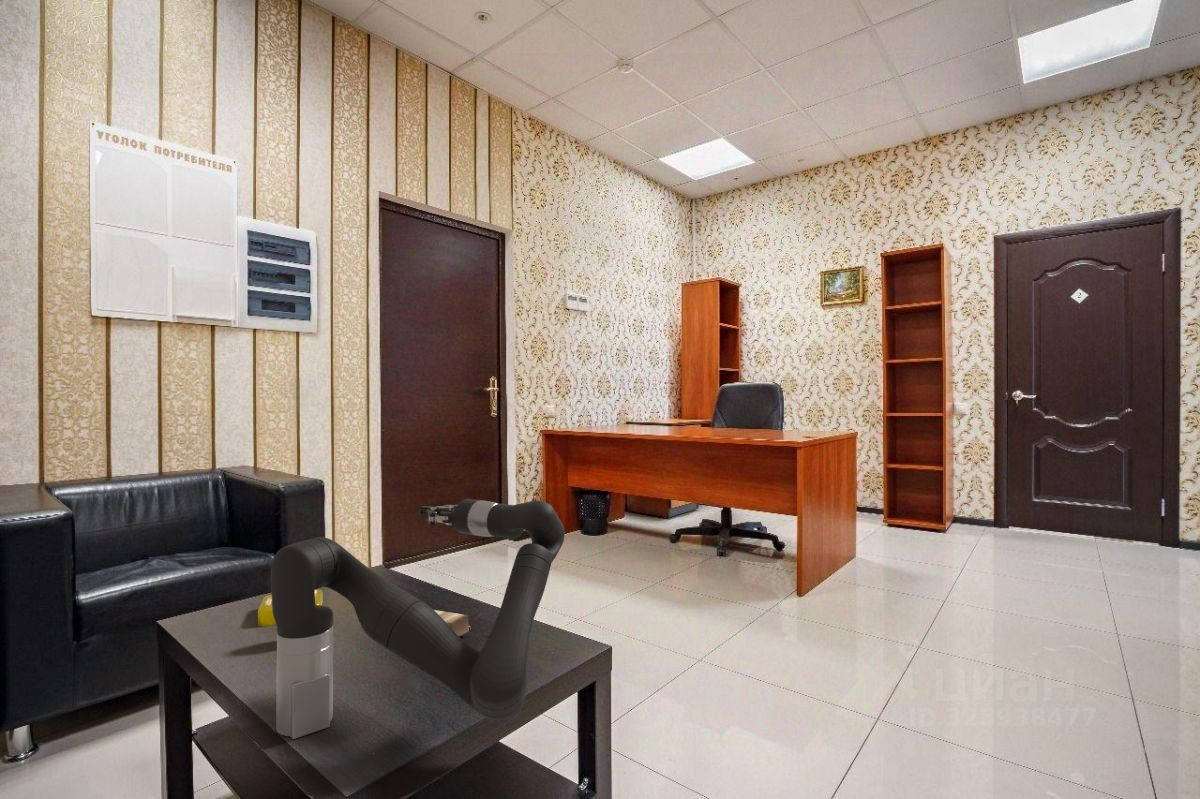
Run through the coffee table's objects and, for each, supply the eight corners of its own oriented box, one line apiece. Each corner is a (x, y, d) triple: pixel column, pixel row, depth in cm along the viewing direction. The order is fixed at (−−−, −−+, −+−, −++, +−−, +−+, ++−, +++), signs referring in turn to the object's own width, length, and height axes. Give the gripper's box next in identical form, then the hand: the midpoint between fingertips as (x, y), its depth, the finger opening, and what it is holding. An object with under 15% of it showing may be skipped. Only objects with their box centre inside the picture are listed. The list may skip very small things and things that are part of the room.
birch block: (468, 615, 144) (427, 608, 151) (451, 623, 139) (409, 616, 145) (468, 631, 144) (427, 624, 150) (452, 639, 139) (410, 632, 145)
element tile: (264, 609, 163) (264, 593, 163) (322, 602, 169) (323, 586, 169) (256, 629, 149) (256, 610, 149) (320, 620, 155) (320, 602, 155)
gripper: (459, 541, 118) (399, 532, 127) (498, 529, 130) (441, 521, 138) (459, 505, 119) (399, 498, 127) (499, 496, 130) (441, 490, 138)
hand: (421, 510), depth 132 cm, fingers closed
